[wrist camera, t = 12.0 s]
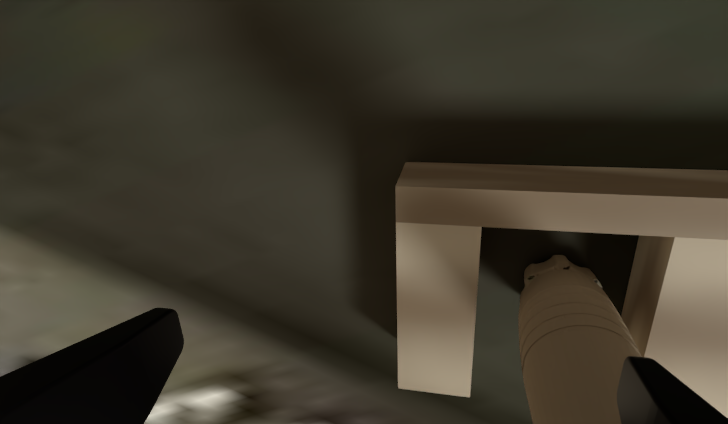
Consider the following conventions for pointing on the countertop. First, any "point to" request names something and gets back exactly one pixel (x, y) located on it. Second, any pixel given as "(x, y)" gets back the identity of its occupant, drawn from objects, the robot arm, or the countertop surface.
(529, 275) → the handle
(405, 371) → the notched rail
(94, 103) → the countertop surface
